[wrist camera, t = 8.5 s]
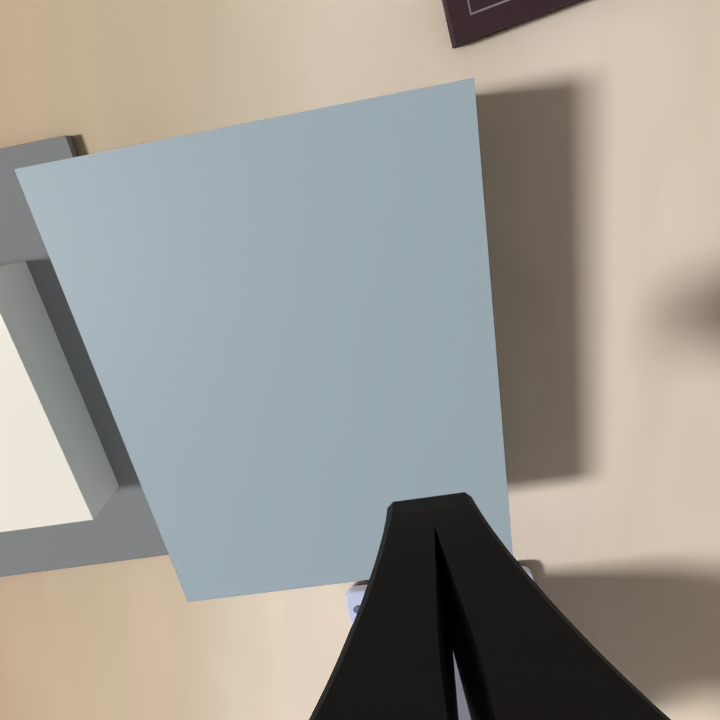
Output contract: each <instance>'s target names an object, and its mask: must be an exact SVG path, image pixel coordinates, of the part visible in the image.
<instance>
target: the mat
mask: <svg viewBox="0 0 720 720" xmlns="http://www.w3.org/2000/svg"><path fill="white" fill-rule="evenodd" d="M73 157H78V156H77V153H76V150H75V147H74V144H73V142H72V139H71V136H60V137H55V138H50V139H45V140H40V141H35V142H30V143H25V144H20V145H16V146H11V147H6V148H1V149H0V266H1V265H7V264H12V263H18V262H23V261H26V263H27V266H28V268H29V270H30V273H31V275H32V278H33V280H34V283H35V285H36V287H37V290H38V292H39V295H40V297H41V299H42V302H43V304H44V307H45V309H46V311H47V314H48V316H49V319H50V321H51V323H52V326H53V328H54V331H55V333H56V336H57V338H58V340H59V343H60V345H61V348H62V350H63V352H64V355H65V357H66V360H67V362H68V364H69V367H70V369H71V372H72V374H73V376H74V379H75V381H76V384H77V386H78V388H79V391H80V393H81V396H82V398H83V401H84V403H85V405H86V408H87V410H88V413H89V415H90V417H91V420H92V422H93V425H94V427H95V429H96V432H97V434H98V437H99V439H100V441H101V444H102V446H103V449H104V451H105V454H106V456H107V458H108V461H109V463H110V466H111V468H112V470H113V473H114V475H115V478H116V480H117V482H118V485H119V487H118V488H117V489H116V491H115V492H114V493H113V495H112V496H111V497H110V498H109V500H108V501H107V502H106V504H105V505H104V506H103V508H102V509H101V510H100V512H99V513H98V514H97V515H96V517H95V518H94V519H93V520H87V521H80V522H73V523H65V524H58V525H50V526H43V527H36V528H28V529H21V530H13V531H6V532H0V577H3V576H11V575H18V574H26V573H33V572H41V571H48V570H56V569H63V568H71V567H79V566H86V565H94V564H101V563H109V562H116V561H124V560H132V559H139V558H147V557H154V556H162V555H169V554H168V551H167V549H166V546H165V544H164V541H163V539H162V536H161V534H160V531H159V529H158V526H157V524H156V521H155V519H154V516H153V514H152V511H151V509H150V506H149V504H148V501H147V499H146V496H145V494H144V491H143V489H142V486H141V484H140V481H139V479H138V476H137V474H136V471H135V469H134V467H133V464H132V462H131V459H130V457H129V454H128V452H127V449H126V447H125V444H124V442H123V439H122V437H121V434H120V432H119V429H118V427H117V424H116V422H115V419H114V417H113V414H112V412H111V409H110V407H109V404H108V402H107V399H106V397H105V394H104V392H103V389H102V387H101V384H100V382H99V379H98V377H97V374H96V372H95V369H94V367H93V364H92V362H91V359H90V357H89V354H88V352H87V349H86V347H85V344H84V342H83V339H82V337H81V334H80V332H79V329H78V327H77V324H76V322H75V320H74V317H73V315H72V312H71V310H70V307H69V305H68V302H67V300H66V297H65V295H64V292H63V290H62V287H61V285H60V282H59V280H58V277H57V275H56V272H55V270H54V267H53V265H52V262H51V260H50V257H49V255H48V252H47V250H46V247H45V245H44V242H43V240H42V237H41V235H40V232H39V230H38V227H37V225H36V222H35V220H34V217H33V215H32V212H31V210H30V207H29V205H28V202H27V200H26V197H25V195H24V192H23V190H22V187H21V185H20V182H19V180H18V178H17V175H16V173H15V170H14V169H18V168H23V167H28V166H33V165H38V164H43V163H48V162H53V161H58V160H63V159H68V158H73Z"/></svg>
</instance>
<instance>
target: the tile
mask: <svg viewBox="0 0 720 720" xmlns="http://www.w3.org/2000/svg"><path fill="white" fill-rule="evenodd" d="M118 487H119V485H118V482H117V480H116V478H115V475H114V473H113V470H112V468H111V466H110V463H109V461H108V458H107V456H106V454H105V451H104V449H103V446H102V444H101V441H100V439H99V437H98V434H97V432H96V429H95V427H94V425H93V422H92V420H91V417H90V415H89V413H88V410H87V408H86V405H85V403H84V401H83V398H82V396H81V393H80V391H79V388H78V386H77V384H76V381H75V379H74V376H73V374H72V372H71V369H70V367H69V364H68V362H67V360H66V357H65V355H64V352H63V350H62V348H61V345H60V343H59V340H58V338H57V336H56V333H55V331H54V328H53V326H52V323H51V321H50V319H49V316H48V314H47V311H46V309H45V307H44V304H43V302H42V299H41V297H40V295H39V292H38V290H37V287H36V285H35V283H34V280H33V278H32V275H31V273H30V270H29V268H28V266H27V263H26V261H23V262H18V263H12V264H7V265H1V266H0V532H6V531H13V530H21V529H28V528H36V527H43V526H50V525H58V524H65V523H73V522H80V521H87V520H93V519H94V518H95V517H96V515H97V514H98V513H99V512H100V510H101V509H102V508H103V506H104V505H105V504H106V502H107V501H108V500H109V498H110V497H111V496H112V495H113V493H114V492H115V491H116V489H117V488H118Z"/></svg>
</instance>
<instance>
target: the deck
mask: <svg viewBox="0 0 720 720" xmlns="http://www.w3.org/2000/svg"><path fill="white" fill-rule="evenodd" d="M14 170H15V173H16V175H17V178H18V180H19V182H20V185H21V187H22V190H23V192H24V195H25V197H26V200H27V202H28V205H29V207H30V210H31V212H32V215H33V217H34V220H35V222H36V225H37V227H38V230H39V232H40V235H41V237H42V240H43V242H44V245H45V247H46V250H47V252H48V255H49V257H50V260H51V262H52V265H53V267H54V270H55V272H56V275H57V277H58V280H59V282H60V285H61V287H62V290H63V292H64V295H65V297H66V300H67V302H68V305H69V307H70V310H71V312H72V315H73V317H74V320H75V322H76V324H77V327H78V329H79V332H80V334H81V337H82V339H83V342H84V344H85V347H86V349H87V352H88V354H89V357H90V359H91V362H92V364H93V367H94V369H95V372H96V374H97V377H98V379H99V382H100V384H101V387H102V389H103V392H104V394H105V397H106V399H107V402H108V404H109V407H110V409H111V412H112V414H113V417H114V419H115V422H116V424H117V427H118V429H119V432H120V434H121V437H122V439H123V442H124V444H125V447H126V449H127V452H128V454H129V457H130V459H131V462H132V464H133V467H134V469H135V471H136V474H137V476H138V479H139V481H140V484H141V486H142V489H143V491H144V494H145V496H146V499H147V501H148V504H149V506H150V509H151V511H152V514H153V516H154V519H155V521H156V524H157V526H158V529H159V531H160V534H161V536H162V539H163V541H164V544H165V546H166V549H167V551H168V554H169V556H170V559H171V561H172V564H173V566H174V569H175V571H176V574H177V576H178V579H179V581H180V584H181V586H182V589H183V591H184V594H185V596H186V599H187V601H188V602H193V601H201V600H209V599H217V598H225V597H233V596H241V595H249V594H257V593H265V592H273V591H281V590H289V589H297V588H305V587H313V586H321V585H329V584H338V583H346V582H354V581H362V580H369V579H370V576H371V573H372V570H373V567H374V564H375V561H376V557H377V554H378V550H379V547H380V543H381V539H382V535H383V531H384V526H385V521H386V515H387V508H388V507H389V506H390V505H391V503H392V502H395V501H402V500H410V499H417V498H425V497H432V496H439V495H447V494H454V493H461V492H465V493H467V494H468V495H470V496H471V497H472V498H473V500H474V502H475V504H476V505H477V507H478V508H479V510H480V512H481V513H482V515H483V516H484V518H485V519H486V521H487V522H488V524H489V525H490V526H491V528H492V529H493V531H494V532H495V533H496V535H497V536H498V537H499V539H500V540H501V541H502V543H503V544H504V545H505V547H506V548H507V549H508V550H509V552H510V553H511V554H512V555H513V552H512V540H511V528H510V515H509V503H508V490H507V478H506V466H505V453H504V441H503V429H502V416H501V404H500V392H499V379H498V367H497V355H496V342H495V330H494V317H493V305H492V293H491V280H490V268H489V256H488V243H487V231H486V219H485V206H484V194H483V182H482V169H481V157H480V144H479V132H478V120H477V107H476V95H475V83H474V78H471V79H466V80H461V81H456V82H451V83H446V84H441V85H436V86H431V87H426V88H421V89H416V90H411V91H406V92H401V93H396V94H391V95H386V96H381V97H376V98H371V99H366V100H361V101H356V102H351V103H345V104H340V105H335V106H330V107H325V108H320V109H315V110H310V111H305V112H300V113H295V114H290V115H285V116H280V117H275V118H270V119H265V120H260V121H255V122H250V123H245V124H240V125H235V126H230V127H225V128H220V129H214V130H209V131H204V132H199V133H194V134H189V135H184V136H179V137H174V138H169V139H164V140H159V141H154V142H149V143H144V144H139V145H134V146H129V147H124V148H119V149H114V150H109V151H104V152H99V153H94V154H89V155H83V156H78V157H73V158H68V159H63V160H58V161H53V162H48V163H43V164H38V165H33V166H28V167H23V168H18V169H14Z"/></svg>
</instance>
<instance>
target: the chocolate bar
mask: <svg viewBox="0 0 720 720" xmlns="http://www.w3.org/2000/svg"><path fill="white" fill-rule="evenodd" d="M579 1H582V0H442V3H443V7H444V12H445V16H446V21H447V25H448V30H449V34H450V39H451V43H452V48H456V47H458V46H461V45H464V44H466V43H469V42H472V41H475V40H477V39H480V38H483V37H485V36H488V35H491V34H493V33H496V32H499V31H501V30H504V29H507V28H509V27H512V26H515V25H518V24H520V23H523V22H526V21H528V20H531V19H534V18H536V17H539V16H542V15H544V14H547V13H550V12H552V11H555V10H558V9H560V8H563V7H566V6H569V5H571V4H574V3H577V2H579Z"/></svg>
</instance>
